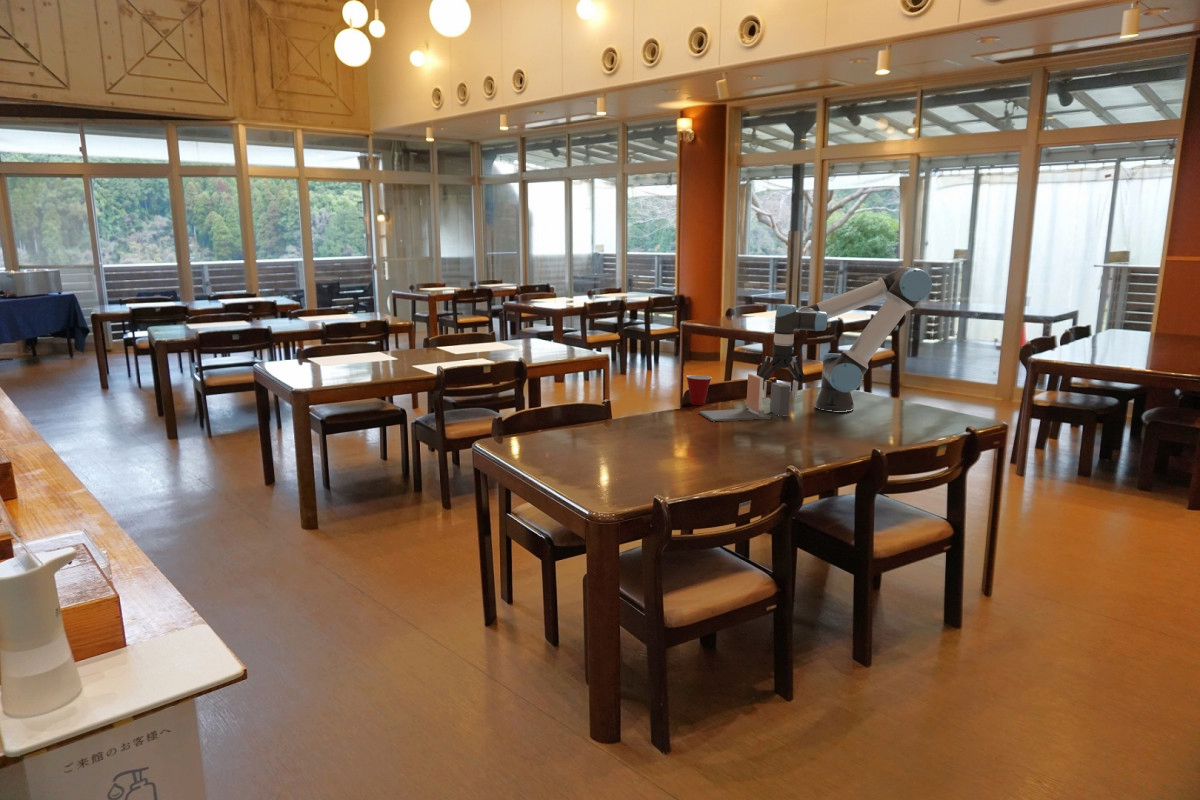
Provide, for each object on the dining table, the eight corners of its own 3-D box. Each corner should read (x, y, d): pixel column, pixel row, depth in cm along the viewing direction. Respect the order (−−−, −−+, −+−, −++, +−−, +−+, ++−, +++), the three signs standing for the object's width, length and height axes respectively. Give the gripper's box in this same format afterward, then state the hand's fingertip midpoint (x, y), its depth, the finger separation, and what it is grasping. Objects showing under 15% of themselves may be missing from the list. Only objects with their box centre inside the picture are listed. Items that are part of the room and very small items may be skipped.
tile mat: (754, 410, 317) (755, 402, 316) (770, 419, 303) (771, 410, 303) (699, 413, 311) (699, 404, 310) (713, 422, 297) (713, 413, 297)
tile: (749, 407, 314) (751, 372, 311) (761, 413, 304) (763, 378, 301) (745, 407, 314) (747, 373, 311) (757, 413, 303) (759, 378, 300)
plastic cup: (715, 403, 330) (716, 375, 327) (704, 407, 321) (705, 379, 319) (691, 399, 336) (692, 372, 333) (680, 404, 327) (681, 376, 324)
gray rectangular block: (778, 411, 316) (780, 382, 314) (788, 416, 309) (790, 386, 306) (769, 412, 315) (771, 382, 313) (778, 416, 308) (780, 386, 305)
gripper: (807, 342, 313) (802, 394, 317) (749, 343, 306) (745, 396, 311) (816, 345, 305) (811, 398, 310) (758, 346, 299) (754, 400, 304)
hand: (778, 397), depth 310 cm, fingers open, 13 cm apart
